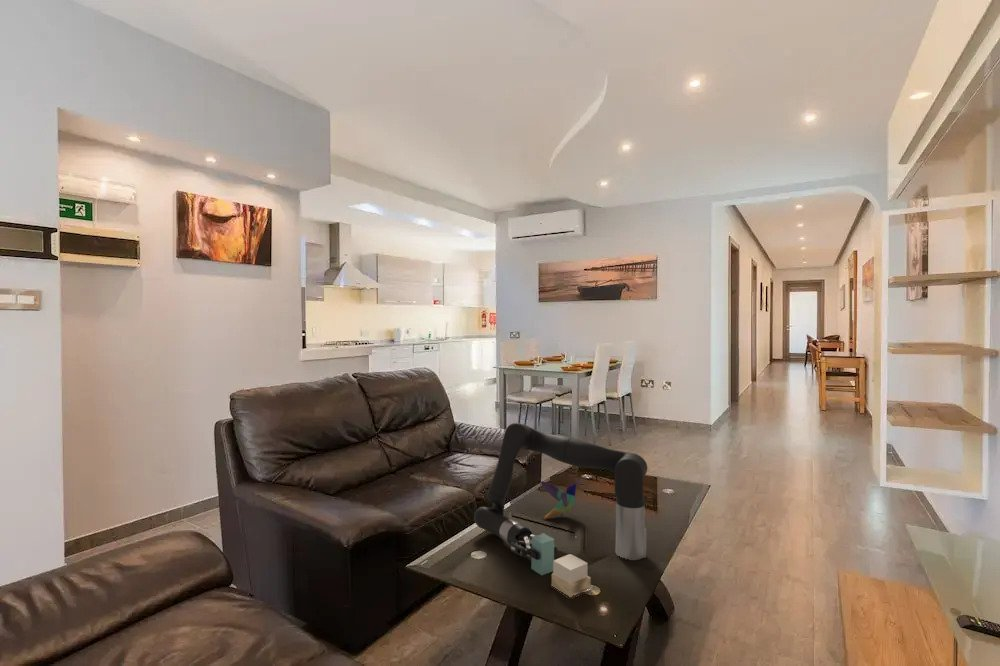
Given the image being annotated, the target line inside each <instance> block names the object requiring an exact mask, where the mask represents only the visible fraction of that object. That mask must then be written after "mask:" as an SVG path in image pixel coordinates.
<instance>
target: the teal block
mask: <svg viewBox="0 0 1000 666" xmlns="http://www.w3.org/2000/svg"><path fill="white" fill-rule="evenodd" d="M554 545H555V539H554V538H553V537H552V536H549V535H548V536H547V533H545V534H541V533H540V534H538V535H537V536H535V537H532V548H533V549H534V550H536V551H537V552H539V553H540V559H539V560H536V559H534V558H532V557H531V556H530V557H531V559H530V560H531V566H530V567H531V568H530V569H531V570H533V571H534V572H536V573H537V574H538V575H540V576H544V575H546V574H547V575H548V574H549V573H551V572H552V573H553V560H555V554H554Z"/></svg>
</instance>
